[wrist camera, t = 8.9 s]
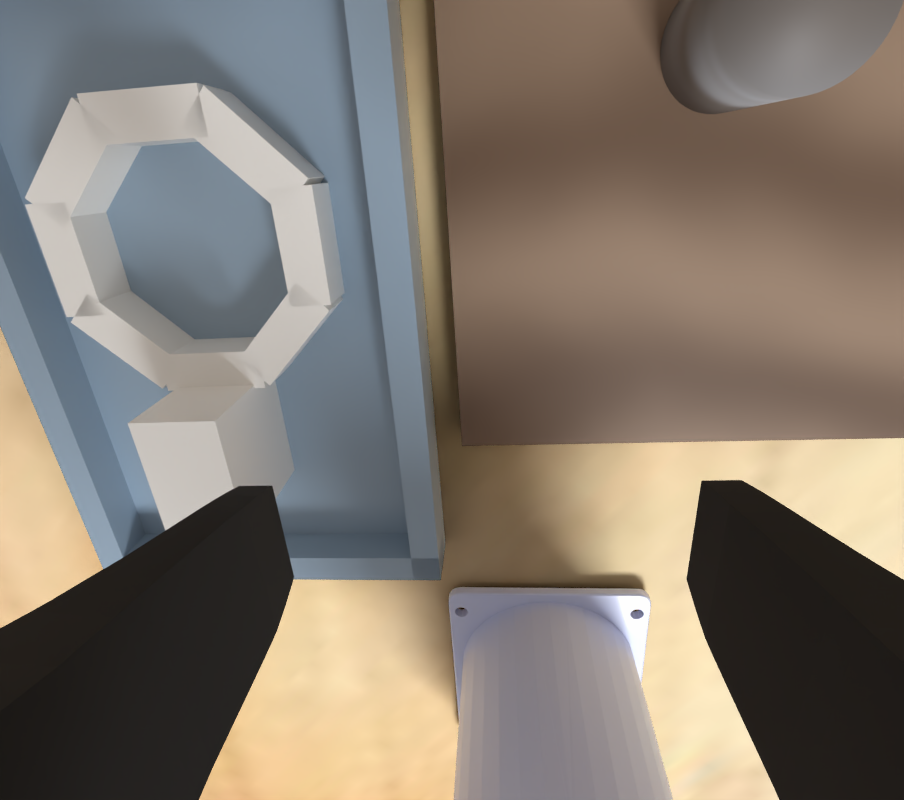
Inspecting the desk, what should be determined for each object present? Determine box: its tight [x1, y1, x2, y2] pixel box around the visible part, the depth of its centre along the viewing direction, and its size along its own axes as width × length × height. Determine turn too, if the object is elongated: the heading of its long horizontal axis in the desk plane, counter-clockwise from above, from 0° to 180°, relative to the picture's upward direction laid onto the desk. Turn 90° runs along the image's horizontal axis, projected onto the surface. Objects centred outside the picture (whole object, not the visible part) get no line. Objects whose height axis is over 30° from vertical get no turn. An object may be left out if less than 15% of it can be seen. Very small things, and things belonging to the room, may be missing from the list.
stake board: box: [434, 0, 904, 446], centre depth 13 cm, size 16×14×5 cm
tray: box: [0, 0, 445, 580], centre depth 17 cm, size 20×13×2 cm, turn 4°
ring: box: [25, 83, 345, 531], centre depth 15 cm, size 12×8×4 cm
